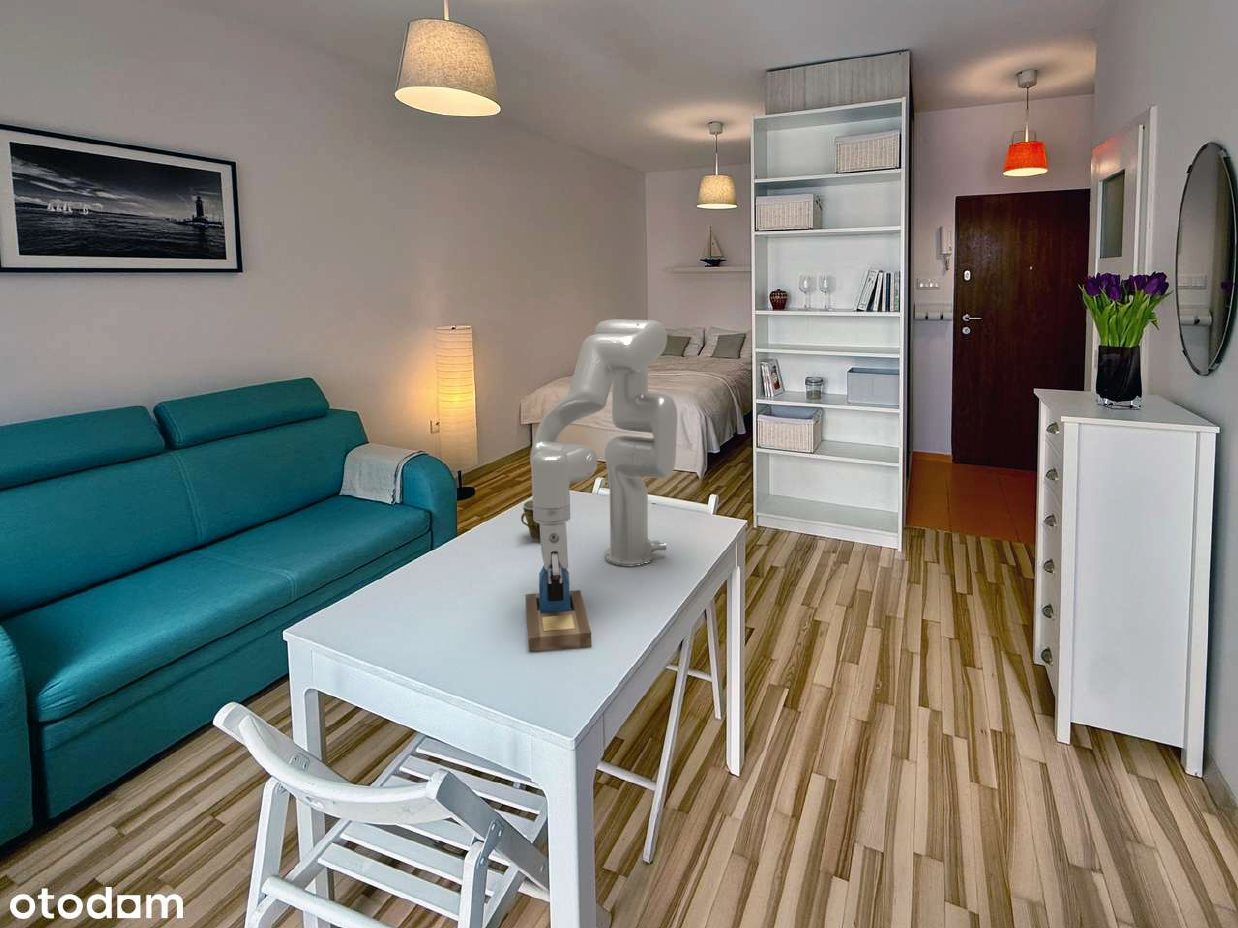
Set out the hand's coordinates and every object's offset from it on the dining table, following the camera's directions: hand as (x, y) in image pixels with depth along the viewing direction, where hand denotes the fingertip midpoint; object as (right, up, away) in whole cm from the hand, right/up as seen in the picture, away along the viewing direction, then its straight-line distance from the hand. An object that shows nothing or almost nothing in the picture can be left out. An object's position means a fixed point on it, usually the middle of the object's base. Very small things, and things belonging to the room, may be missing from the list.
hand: (554, 592), depth 153 cm
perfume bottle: (0, -3, +1) cm, 3 cm away
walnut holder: (+1, -6, -2) cm, 7 cm away
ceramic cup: (-8, +6, +46) cm, 47 cm away
